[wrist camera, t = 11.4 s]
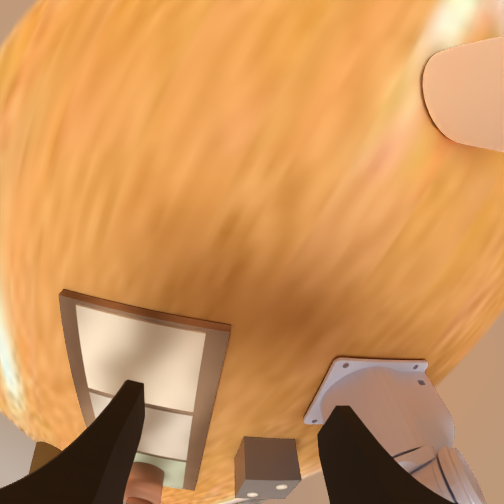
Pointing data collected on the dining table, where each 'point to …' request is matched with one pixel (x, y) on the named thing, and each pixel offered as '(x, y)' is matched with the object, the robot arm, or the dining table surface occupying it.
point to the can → (468, 93)
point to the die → (266, 468)
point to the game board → (148, 375)
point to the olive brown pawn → (43, 455)
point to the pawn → (144, 484)
